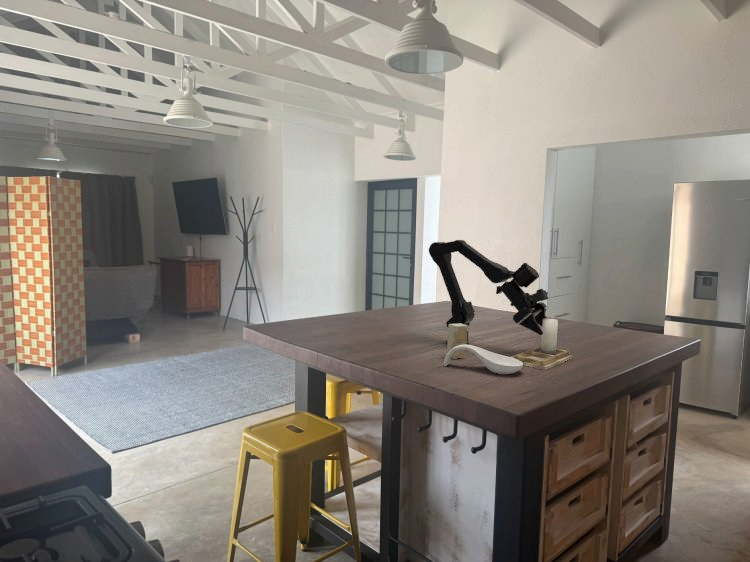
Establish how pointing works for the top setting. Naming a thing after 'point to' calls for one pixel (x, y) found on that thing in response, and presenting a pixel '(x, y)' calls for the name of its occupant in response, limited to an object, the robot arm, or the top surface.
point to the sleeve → (549, 336)
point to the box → (457, 339)
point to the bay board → (542, 358)
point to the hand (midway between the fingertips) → (546, 332)
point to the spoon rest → (489, 359)
